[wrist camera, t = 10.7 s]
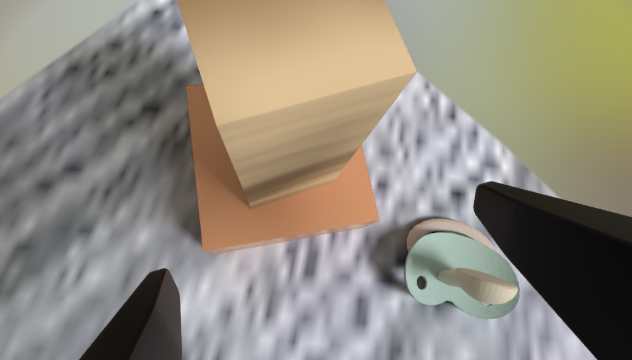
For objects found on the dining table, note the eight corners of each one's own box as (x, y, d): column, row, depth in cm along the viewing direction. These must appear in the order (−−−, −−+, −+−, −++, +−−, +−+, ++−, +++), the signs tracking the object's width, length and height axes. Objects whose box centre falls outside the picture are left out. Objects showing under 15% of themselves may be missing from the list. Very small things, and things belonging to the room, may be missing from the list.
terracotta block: (362, 228, 23) (379, 219, 20) (216, 254, 22) (203, 251, 18) (334, 99, 26) (344, 69, 22) (200, 115, 24) (185, 86, 20)
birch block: (333, 182, 20) (416, 71, 8) (251, 208, 19) (216, 126, 7) (305, 107, 21) (345, -87, 9) (225, 129, 20) (159, -57, 8)
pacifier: (402, 209, 24) (388, 296, 22) (444, 185, 18) (430, 301, 16) (499, 234, 24) (494, 322, 22) (572, 219, 18) (573, 337, 16)
